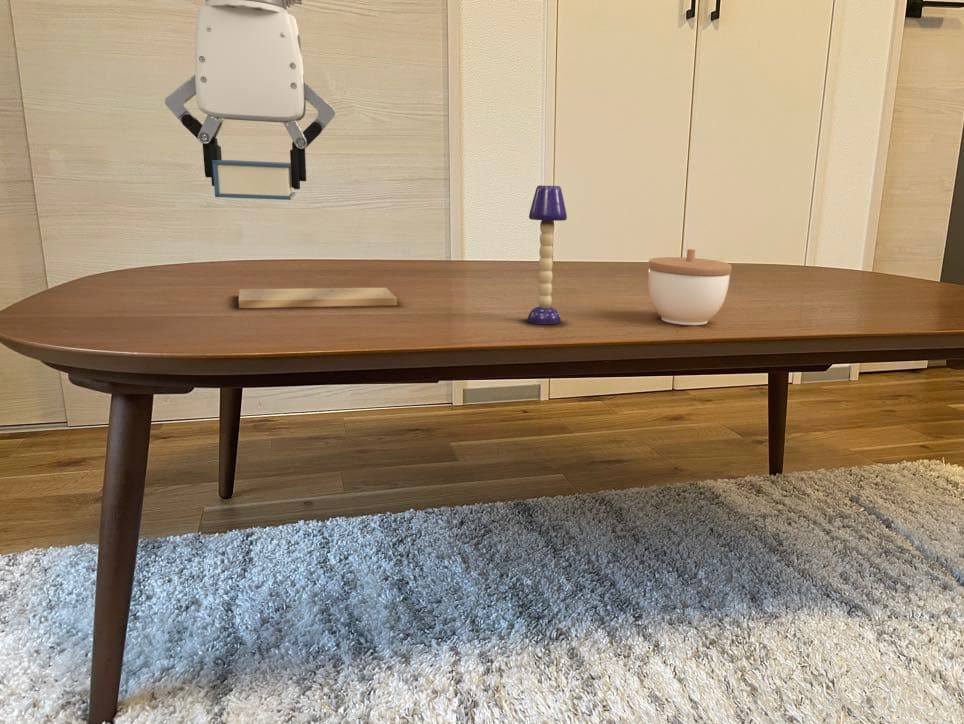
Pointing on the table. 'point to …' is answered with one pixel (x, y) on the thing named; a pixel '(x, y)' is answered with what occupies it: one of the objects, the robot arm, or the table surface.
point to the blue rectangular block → (252, 179)
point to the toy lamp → (546, 248)
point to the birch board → (315, 297)
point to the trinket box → (687, 288)
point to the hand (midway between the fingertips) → (257, 185)
